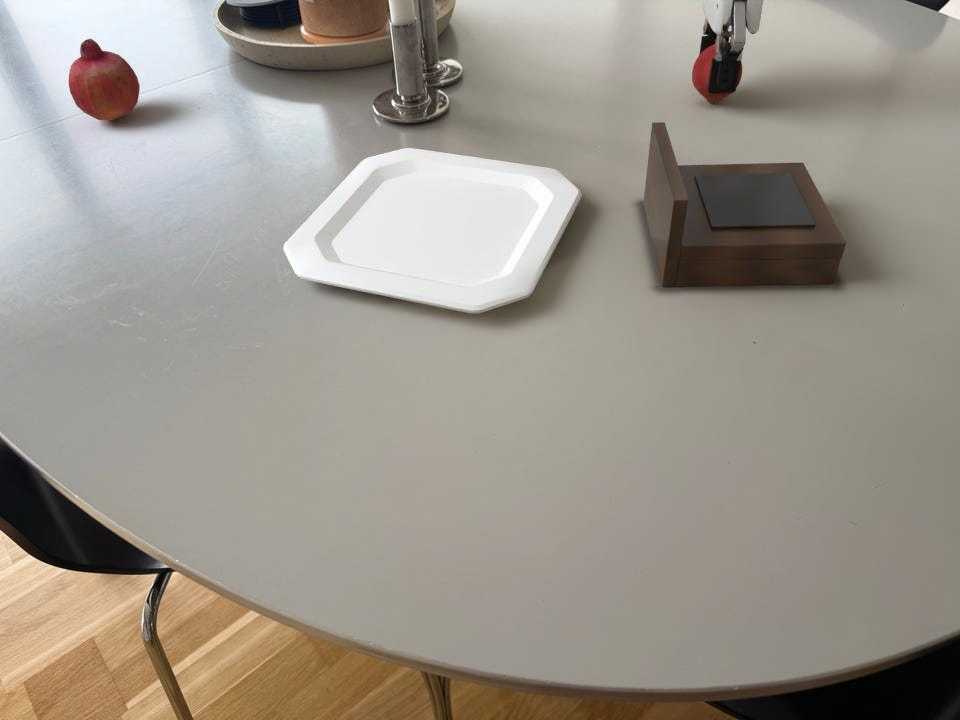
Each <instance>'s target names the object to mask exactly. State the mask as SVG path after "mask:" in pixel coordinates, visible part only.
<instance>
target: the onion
mask: <svg viewBox="0 0 960 720" xmlns="http://www.w3.org/2000/svg"><path fill="white" fill-rule="evenodd" d="M716 41H717V40H715V42H716ZM726 43H727V41H726V40H725V39H724V41H723V47H724V45H725V44H726ZM715 55H716V43H715V44H714V45H712V46H710V47H708V48H706V49H705V50H704V51H703V52H702V53H701V54H700V55H699V54H698V56H697V57H696V59H695V61H694V63H693V66H692V72H691V82H692V84H693V87H694V89H695V90H696V91H697V92H698V93H699V95H701V96H702V97H703V98H704V99H705V100H706V102H708V103H709V104H716V103H718V102H720V101H722V100H723V99H725V98H727V97H729V96H730V95H731V94H732V93H717V94H710V93H709V92H708V82H709V76H710V69H711V63H712V58H715ZM742 77H743V63H742V61H741V64H740V70H739V76H738V81H737V87H736V89H737V88H738V87H739V85H740V83H741V80H742Z"/></svg>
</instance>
